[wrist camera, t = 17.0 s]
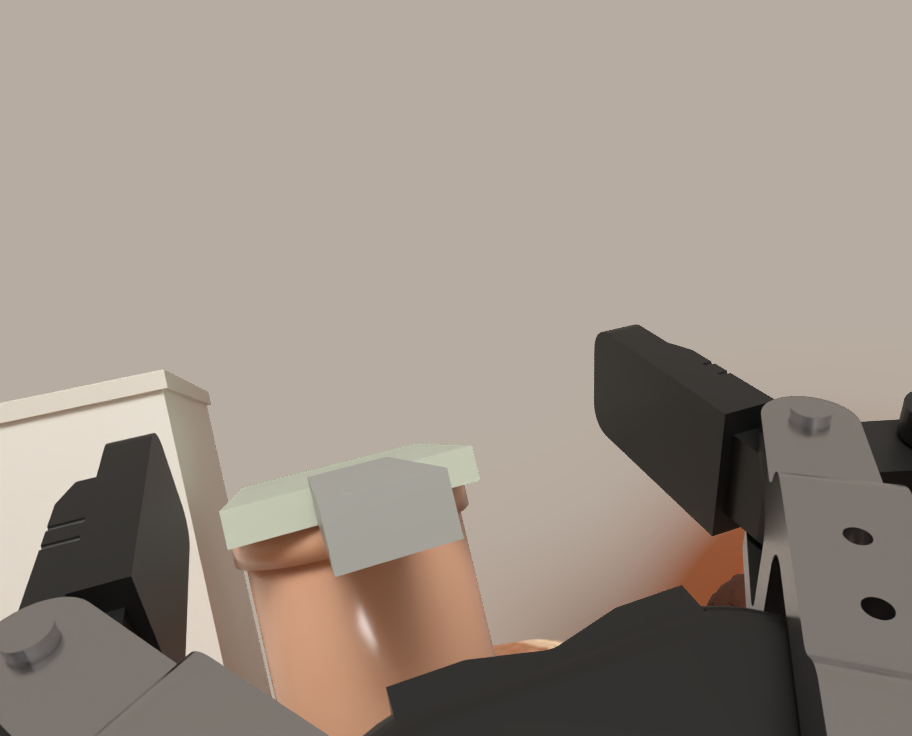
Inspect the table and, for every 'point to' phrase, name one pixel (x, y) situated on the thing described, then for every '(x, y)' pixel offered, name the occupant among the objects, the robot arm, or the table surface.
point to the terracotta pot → (360, 623)
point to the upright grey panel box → (78, 458)
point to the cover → (361, 505)
